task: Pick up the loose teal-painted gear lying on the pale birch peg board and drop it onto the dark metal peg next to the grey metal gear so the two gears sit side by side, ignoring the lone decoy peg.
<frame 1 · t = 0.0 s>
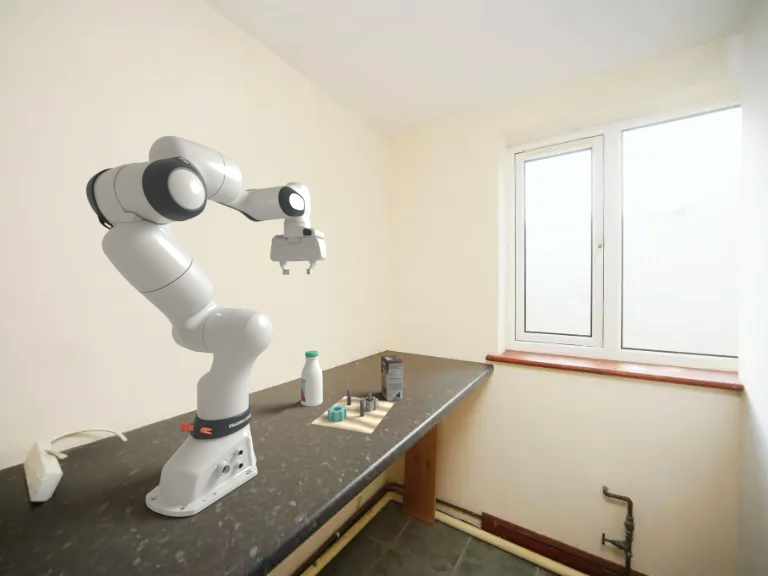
hand: (297, 274, 101), 48 cm above the counter, fingers open, 8 cm apart
teal gear: (337, 418, 97), point 1 cm above the counter, touching peg board
grey gear: (369, 407, 104), point 1 cm above the counter, touching peg board
milk bottle: (312, 406, 110), on the counter
coffee box: (391, 400, 116), on the counter
peg board: (356, 416, 101), on the counter
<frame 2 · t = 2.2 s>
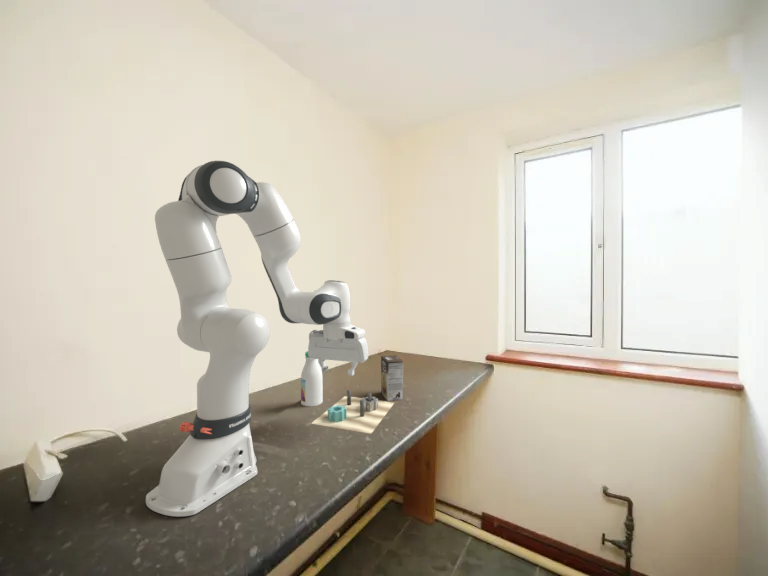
hand: (337, 373, 97), 16 cm above the counter, fingers open, 8 cm apart
nothing on the counter moved.
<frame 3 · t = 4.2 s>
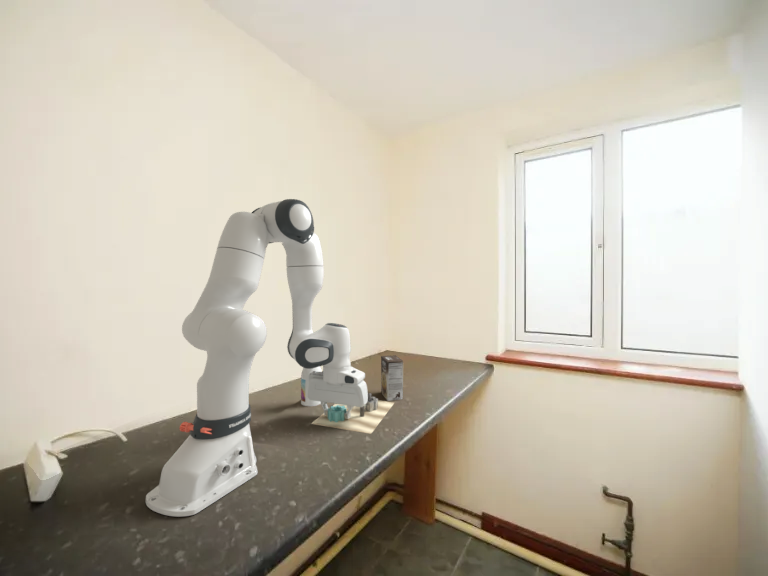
hand: (337, 416, 97), 2 cm above the counter, fingers closed on teal gear, 6 cm apart
teal gear: (337, 418, 97), point 2 cm above the counter, touching gripper, peg board
everything else where it was.
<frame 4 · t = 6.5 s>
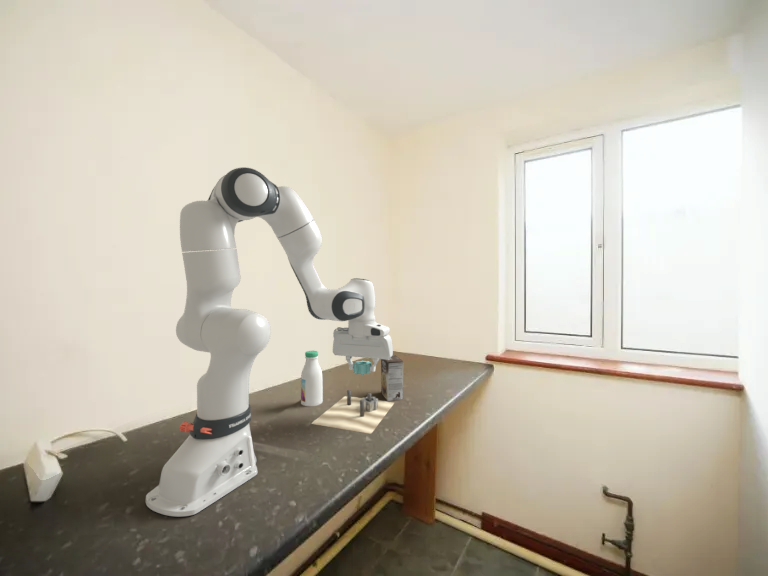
hand: (362, 370, 98), 16 cm above the counter, fingers closed on teal gear, 6 cm apart
teal gear: (362, 372, 98), point 16 cm above the counter, touching gripper
everything else where it was.
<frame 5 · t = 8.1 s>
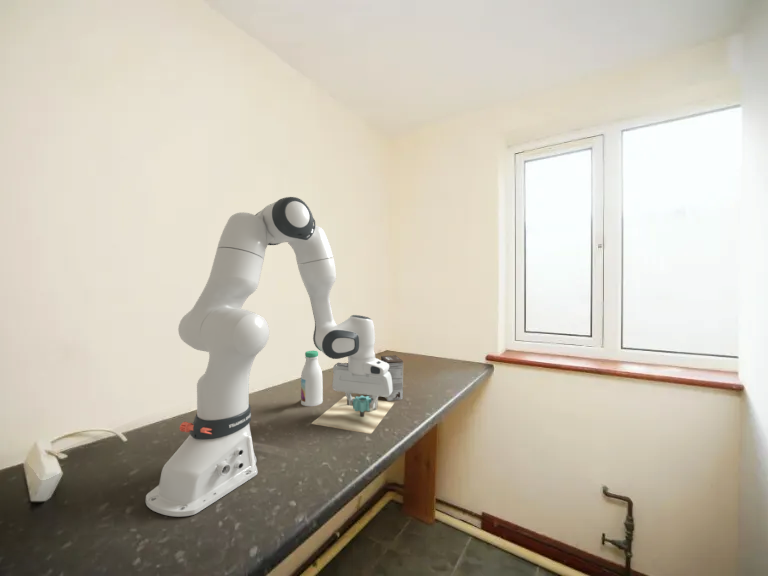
hand: (361, 406, 98), 4 cm above the counter, fingers closed on teal gear, 6 cm apart
teal gear: (362, 408, 99), point 4 cm above the counter, touching gripper
everything else where it was.
when the fingers open (4 cm above the counter, at t = 9.0 s): teal gear drops 2 cm, resting on peg board.
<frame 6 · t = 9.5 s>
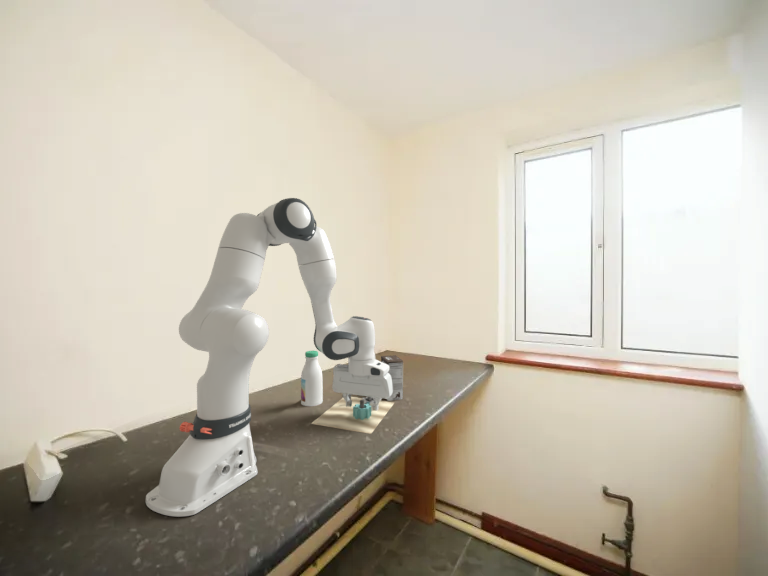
hand: (361, 408, 98), 4 cm above the counter, fingers open, 8 cm apart
teal gear: (362, 415, 98), point 1 cm above the counter, touching peg board
everything else where it was.
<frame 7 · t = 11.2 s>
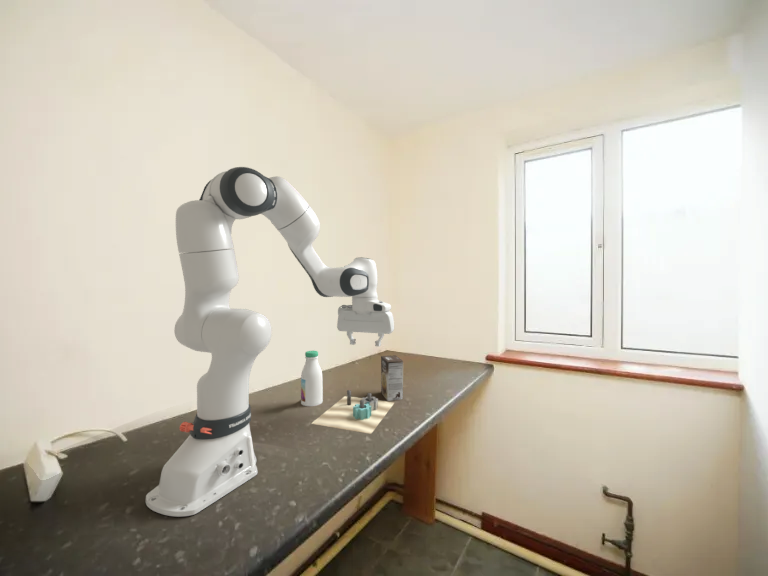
hand: (365, 345, 103), 24 cm above the counter, fingers open, 8 cm apart
nothing on the counter moved.
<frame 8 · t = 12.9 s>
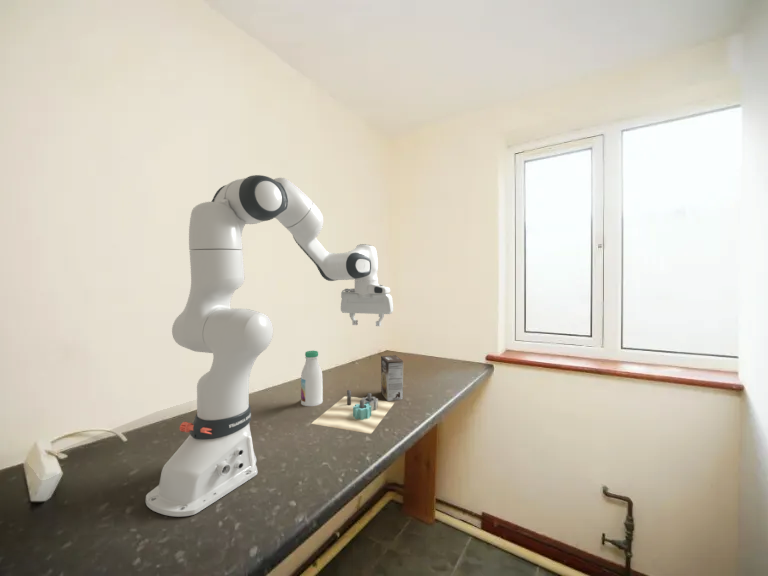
hand: (366, 325, 112), 29 cm above the counter, fingers open, 8 cm apart
nothing on the counter moved.
at the end: teal gear 0.2 cm from the target spot on the peg board, point 1.5 cm above the peg board's base; teal gear tilted 0°; teal gear 6.4 cm from the grey gear (horizontally) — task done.
